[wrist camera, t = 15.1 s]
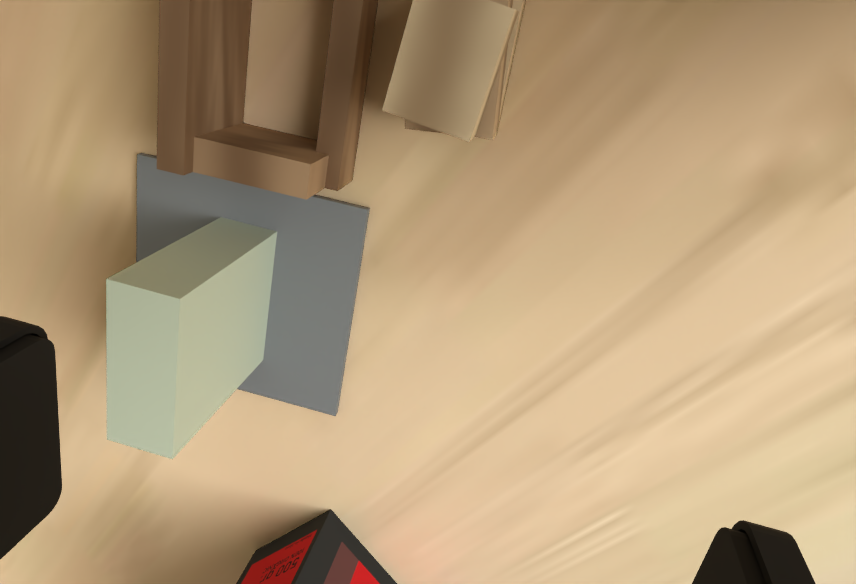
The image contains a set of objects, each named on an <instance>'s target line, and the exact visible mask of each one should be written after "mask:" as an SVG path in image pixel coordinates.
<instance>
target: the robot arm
mask: <svg viewBox="0 0 856 584" xmlns="http://www.w3.org/2000/svg"><path fill="white" fill-rule="evenodd" d="M61 490H62V478H61V459H60V439H59V420H58V400H57V381H56V362H55V349H54V345H53V343H52V342H51V341H50V340H48V338H47V334H46V332H45V331H44V329H42V328H41V327H39V326H36V325H33V324H29V323H26V322H22V321H18V320H15V319H11V318H7V317H1V316H0V559H1V558H2V557H3V556H5V555H6V554H7V553H8V552H9V551H10V550H11V549H12V548H13V547H14V546H15V545H16V544H17V543H18V542H19V541H21V540H22V539H23V538H24V537H25V536H26V535H27V534H28V533H29V532H30V531H31V530H32V529H33V528H34V527H35V526H37V525H38V524H39V523H40V522H41V521H42V520H43V519H44V518H45V517H46V516H47V515H48V514H49V513H50V512H51V511H52V510H53V508H54V507H55V505H56V504H57V502H58V500H59V498H60V494H61ZM692 584H815V582H814V580H813V577H812V575H811V573H810V571H809V569H808V567H807V565H806V562H805V560H804V558H803V556H802V554H801V552H800V549H799V547H798V545H797V543H796V541H795V540H794V538H793V537H792V535H790V534H788V533H787V532H783V531H780V530H776V529H773V528H769V527H765V526H762V525H758V524H754V523H751V522H747V521H739V522H737V523H736V524H735V525H734V526H733V528H732V529H729V528H721V529H720V530H718V532H717V534H716V535H715V537H714V539H713V541H712V543H711V545H710V548H709V550H708V552H707V554H706V556H705V558H704V560H703V562H702V564H701V566H700V568H699V570H698V572H697V574H696V576H695V578H694V581H693V583H692Z"/></svg>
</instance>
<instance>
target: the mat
mask: <svg viewBox="0 0 856 584" xmlns="http://www.w3.org/2000/svg"><path fill="white" fill-rule="evenodd" d="M369 209H370V208H368V207H364V206H360V205H355V204H351V203H347V202H343V201H339V200H335V199H331V198H326V197H322V196H318V195H313V196H311V197H310V198H308V199H307V200H306V199H302V198H298V197H294V196H290V195H286V194H281V193H277V192H273V191H269V190H265V189H261V188H257V187H253V186H248V185H244V184H240V183H236V182H232V181H228V180H224V179H220V178H216V177H211V176H207V175H203V174H199V173H195V172H191V173H189V174H186V175H179V174H175V173H171V172H167V171H163V170H159V169H157V156H152V155H148V154H144V153H139V154H137V253H136V263H137V262H139V261H140V260H142V259H144V258H146V257H148V256H150V255H152V254H153V253H155V252H157V251H159V250H161V249H163V248H165V247H166V246H168V245H170V244H172V243H174V242H176V241H178V240H179V239H181V238H183V237H185V236H187V235H189V234H191V233H193V232H194V231H196V230H198V229H200V228H202V227H204V226H206V225H207V224H209V223H211V222H213V221H215V220H217V219H219V218H220V217H223V218H227V219H231V220H234V221H238V222H242V223H246V224H250V225H254V226H258V227H261V228H265V229H269V230H273V231H277V238H276V247H275V256H274V266H273V275H272V284H271V293H270V302H269V311H268V320H267V330H266V339H265V348H264V357H263V361H262V362H261V363H260V364H259V365H258V366H257V367H256V368H255V369H254V371H253V372H252V373H251V374H250V375H249V376H248V377H247V378H246V379H245V380H244V382H243V383H242V384H241V385H240V386H239V387H238V388H237V389H239V390H243V391H247V392H250V393H254V394H257V395H261V396H265V397H268V398H272V399H276V400H279V401H283V402H286V403H290V404H294V405H297V406H301V407H304V408H308V409H312V410H315V411H319V412H322V413H326V414H330V415H333V416H336V414H337V412H338V406H339V400H340V393H341V387H342V381H343V374H344V368H345V362H346V355H347V349H348V343H349V336H350V330H351V324H352V317H353V311H354V304H355V298H356V292H357V285H358V279H359V273H360V266H361V260H362V254H363V247H364V241H365V235H366V228H367V222H368V216H369Z"/></svg>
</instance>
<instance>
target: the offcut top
mask: <svg viewBox="0 0 856 584" xmlns="http://www.w3.org/2000/svg"><path fill="white" fill-rule="evenodd" d="M518 13H519V11H517V10H515V9H513V8H510V7H507V6H504V5H502V4H499V3H496V2H493V1H490V0H413V2H412V6H411V9H410V13H409V16H408V20H407V23H406V27H405V31H404V34H403V38H402V41H401V45H400V48H399V52H398V55H397V59H396V63H395V66H394V70H393V73H392V77H391V80H390V84H389V87H388V91H387V95H386V98H385V102H384V105H383V109H382V111H385V112H387V113H390V114H393V115H396V116H398V117H401V118H404V119H407V120H409V121H412V122H415V123H418V124H420V125H423V126H426V127H429V128H431V129H434V130H437V131H440V132H442V133H445V134H448V135H451V136H453V137H456V138H459V139H462V140H464V141H467V142H470V141H471V140H472V138H473V137H474V136H475V135H476V134H477V132H478V129H479V126H480V123H481V120H482V117H483V114H484V111H485V109H486V106H487V103H488V100H489V97H490V94H491V91H492V88H493V85H494V83H495V80H496V77H497V74H498V71H499V68H500V65H501V62H502V60H503V57H504V54H505V51H506V48H507V45H508V42H509V39H510V36H511V34H512V31H513V28H514V25H515V22H516V19H517V16H518Z"/></svg>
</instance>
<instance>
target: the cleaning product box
mask: <svg viewBox="0 0 856 584" xmlns="http://www.w3.org/2000/svg"><path fill="white" fill-rule="evenodd" d="M236 584H397V583H396V582H395V581H394V580H393V579H392V577H391V576H390V575H389V574H388V573H387V572H386V571H385V570H384V568H383V567H382V566H381V565H380V564H379V563H378V562H377V561H376V559H375V558H374V557H373V556H372V555H371V554H370V553H369V552H368V550H367V549H366V548H365V547H364V546H363V545H362V544H361V543H360V541H359V540H358V539H357V538H356V537H355V536H354V535H353V534H352V532H351V531H350V530H349V529H348V528H347V527H346V526H345V525H344V523H343V522H342V521H341V520H340V519H339V518H338V517H337V516H336V514H335V513H334V512H333V511H332V510H329V511H327V512H325V513H323V514H322V515H320V516H318V517H316V518H314V519H313V520H311V521H309V522H307V523H305V524H303V525H302V526H300V527H298V528H296V529H294V530H292V531H291V532H289V533H287V534H285V535H283V536H282V537H280V538H278V539H276V540H274V541H272V542H271V543H269V544H267V545H265V546H263V547H261V548H260V549H258V550H256V551H255V553H254V555H253V556H252V558H251V560H250V561H249V563H248V565H247V566H246V568H245V570H244V571H243V573H242V575H241V577H240V578H239V580H238V582H237V583H236Z"/></svg>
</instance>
